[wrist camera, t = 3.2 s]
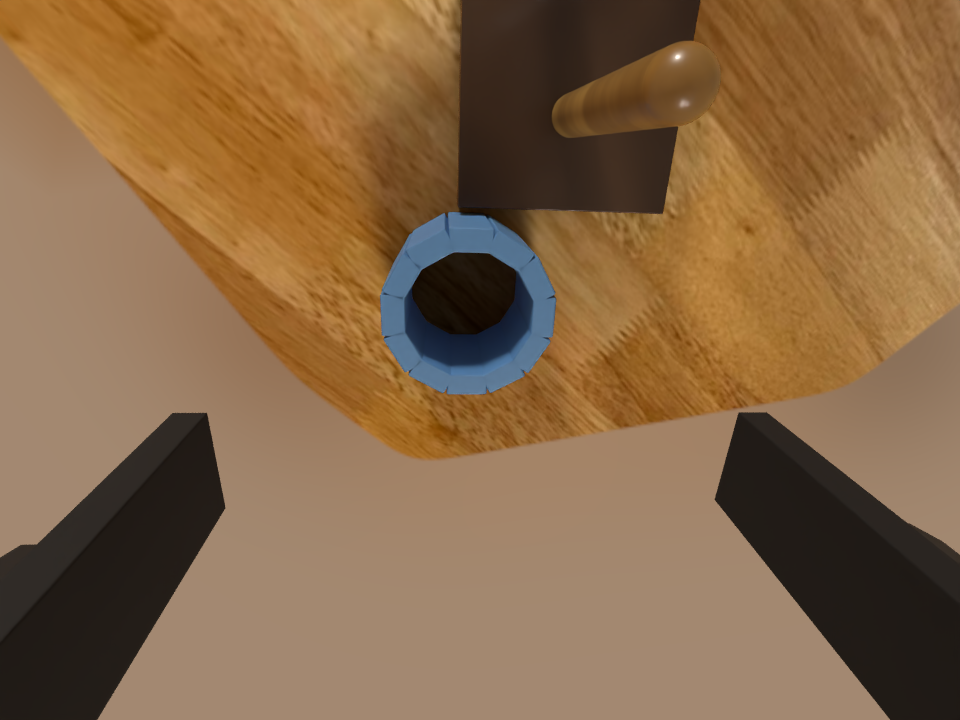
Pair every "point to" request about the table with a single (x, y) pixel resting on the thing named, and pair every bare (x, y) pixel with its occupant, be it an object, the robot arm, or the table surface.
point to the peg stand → (577, 101)
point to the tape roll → (467, 356)
